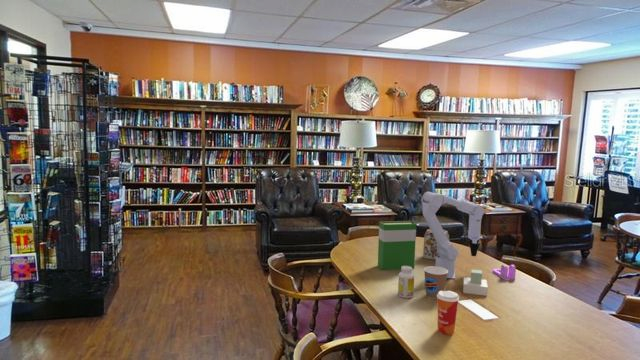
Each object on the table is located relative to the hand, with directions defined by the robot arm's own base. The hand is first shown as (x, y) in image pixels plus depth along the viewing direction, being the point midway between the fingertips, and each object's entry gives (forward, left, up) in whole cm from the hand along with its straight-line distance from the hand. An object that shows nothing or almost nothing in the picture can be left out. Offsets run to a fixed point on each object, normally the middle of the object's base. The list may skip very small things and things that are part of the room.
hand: (473, 253), depth 213 cm
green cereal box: (-38, -4, -11) cm, 40 cm away
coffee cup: (-16, -38, -11) cm, 43 cm away
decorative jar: (-19, +22, -11) cm, 31 cm away
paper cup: (-10, -70, -11) cm, 72 cm away
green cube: (+1, -24, -6) cm, 25 cm away
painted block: (+1, -24, -10) cm, 26 cm away
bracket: (+15, +4, -11) cm, 19 cm away
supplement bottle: (-28, -42, -11) cm, 52 cm away
